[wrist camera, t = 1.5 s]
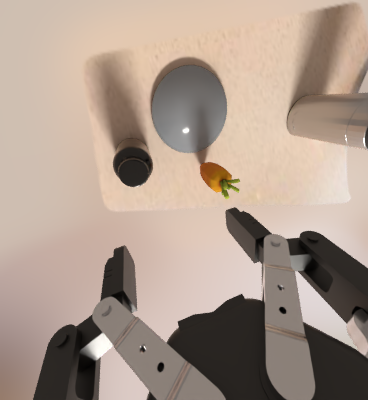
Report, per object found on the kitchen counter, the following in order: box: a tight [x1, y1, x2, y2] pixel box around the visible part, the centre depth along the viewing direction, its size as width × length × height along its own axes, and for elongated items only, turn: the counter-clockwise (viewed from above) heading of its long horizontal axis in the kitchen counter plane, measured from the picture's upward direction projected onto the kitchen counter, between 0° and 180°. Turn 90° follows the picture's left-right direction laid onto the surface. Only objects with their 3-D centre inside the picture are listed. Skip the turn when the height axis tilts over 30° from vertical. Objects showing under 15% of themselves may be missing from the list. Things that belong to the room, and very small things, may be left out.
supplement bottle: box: [113, 138, 153, 187], centre depth 32 cm, size 7×7×12 cm
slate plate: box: [152, 65, 227, 153], centre depth 36 cm, size 16×16×1 cm
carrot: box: [200, 162, 240, 199], centre depth 37 cm, size 5×5×15 cm
